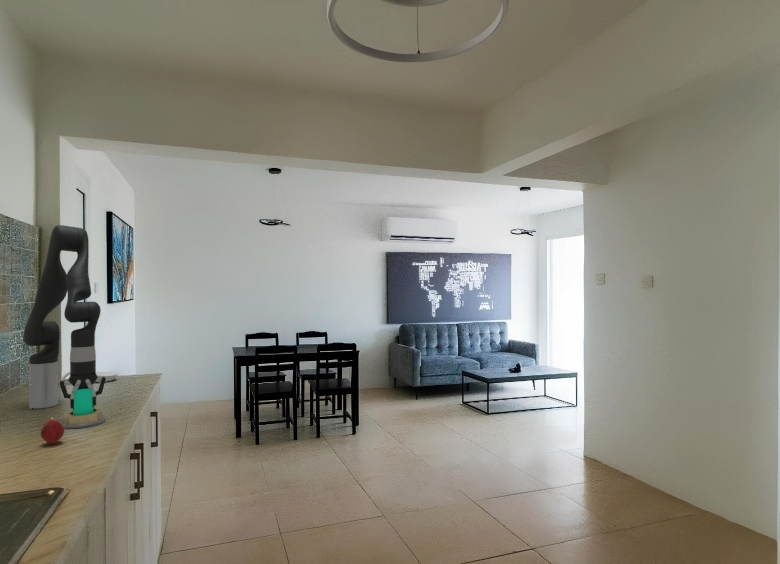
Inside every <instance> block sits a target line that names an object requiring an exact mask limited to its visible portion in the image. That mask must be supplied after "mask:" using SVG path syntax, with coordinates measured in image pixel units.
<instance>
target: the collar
mask: <svg viewBox="0 0 780 564" xmlns="http://www.w3.org/2000/svg"><path fill="white" fill-rule="evenodd" d="M93 408H94V412H93V413H89V414H83V415H73V409H72V410H69V411H66V412H64V415H63V416H64V420H63V421H64V424H66V425H83V424H89V423H93V422H97V421H99V420H101V419H102V416H103V408H101V407H93Z"/></svg>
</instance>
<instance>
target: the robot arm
mask: <svg viewBox="0 0 780 564" xmlns="http://www.w3.org/2000/svg"><path fill="white" fill-rule="evenodd" d="M48 244H49V245H48V250H47V253H46V254H47V255H46V259H45V264H44V268H43V271H42V274H41V277H40V280H39V284H38V287H37V291H36V295H35V300H34V303H33V306H32V309H31V312H30V314H29V316H28V319H27V322H26V325H25V327H24V330H23V342H24V343H25V345H26V346H29V347H39V346H44V347H43V348H42V349H41V350H40V351H38V352H36V353H33V354H31V355H30V357H29V358H28V361H29V363H28V364H29V365H28V366H29V370H28V371H29V379H28V380H29V383H28V409H30V410H32V408H33V409H47V408H51V407H55V406H57V405H58V404H59V386H60V390H61V392H62V396H63V398H64V399H69V400H70V401H69V403H70V404H69V405H70V406H69V407H70V409H72V410H74V393H75V389H83V388H85V389H88V388H89V389H92V396H93V397H92V400H93V408H95V406H96V407H97V396H99V395H102V393H103V391H104V387H105V384H106V382H105V380H106V378H105V376H103V377H99V376H97V375H96V372H97V370H96V369H97V368H96V367H97V366H96V364H97V360H96V358H97V356H96V354H97V352H96V344H95V343H96V342H95V341H96V338H95V337H96V329H97V327H98V326H97V325H98V321H99V319H100V316H101V310H102V309H101V306H100V304H99V303H98V302H96V301H84V300H87V299H89V298H90V297H91V295H92V288H91V283H90V276H89V275H90V274H89V259H90V258H89V255H90V254H89V249H90V248H89V247H90V246H89V235H88V232H87V231H86V229H84V228H82V227H76V226H68V225H63V224H58V225H55V226H54V227H53V228H52V231H51V234H50V239H49V243H48ZM62 251H64V252H74V253H76V255H77V257H76V259H75V262H74V263H73V264H72V265H71V267H70V268H69V270H67V272H66V270H65V269H64V267H63V264H62V262H61V257H60V255H61V252H62ZM66 296H67V301H66V305H65V308H64V318H65V320H66V321H67V322H69V323H86V325H85V326H84V327H81V328H77V329H74V330H72V331H71V333H70V352H69V371H70V375H69V377H68V378H67V379H65V380H61V379H60V381H59V354H60V340H61V339H60V338H61V331H60V326H59V324H58V323H57V322H56V321H53V320H52V321H51V320H48V321H47V320H46V321H45V319H46V318H47V317H48V315H49V314H50V313H52V312H53V311H54V309H56V308H57V307H58V306H59V305H60V304H61V303H62V302H63V301H64V300H65V299H66ZM97 379H98V382H99V383H98V384H99V387H98V389H97V390H96V389H95V388H94V386H93V385H94V383H96V382H95V381H96V380H97ZM68 383H69V384H70V385H72V386H73V387H72V391H71V393H68V389H67V386H68Z"/></svg>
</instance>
